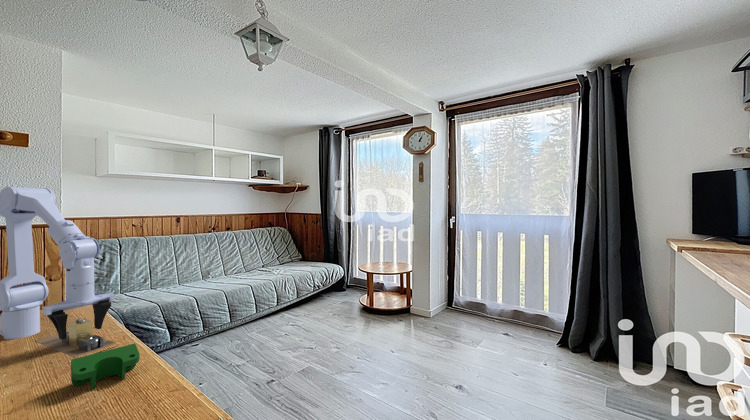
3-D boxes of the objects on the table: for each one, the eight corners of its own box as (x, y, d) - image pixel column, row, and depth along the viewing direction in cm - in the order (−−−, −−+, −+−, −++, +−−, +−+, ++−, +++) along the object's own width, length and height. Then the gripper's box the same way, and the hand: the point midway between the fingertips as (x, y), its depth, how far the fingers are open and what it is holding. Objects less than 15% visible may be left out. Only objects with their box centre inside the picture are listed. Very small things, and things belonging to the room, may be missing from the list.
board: (35, 344, 89) (35, 340, 89) (76, 332, 97) (76, 329, 97) (74, 360, 80) (74, 356, 80) (116, 346, 88) (116, 342, 88)
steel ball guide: (61, 341, 89) (61, 333, 89) (77, 337, 92) (77, 329, 92) (87, 351, 83) (87, 342, 83) (103, 346, 86) (103, 337, 86)
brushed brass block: (69, 344, 87) (68, 320, 87) (85, 340, 90) (84, 316, 90) (76, 347, 85) (76, 322, 85) (92, 342, 88) (92, 318, 88)
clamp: (86, 410, 68) (62, 382, 64) (82, 392, 72) (60, 365, 67) (149, 370, 75) (132, 343, 71) (143, 356, 79) (126, 330, 75)
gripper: (51, 291, 79) (52, 346, 79) (119, 279, 92) (119, 326, 92) (38, 288, 82) (39, 341, 82) (106, 277, 95) (106, 322, 95)
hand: (81, 333), depth 87 cm, fingers open, 7 cm apart
